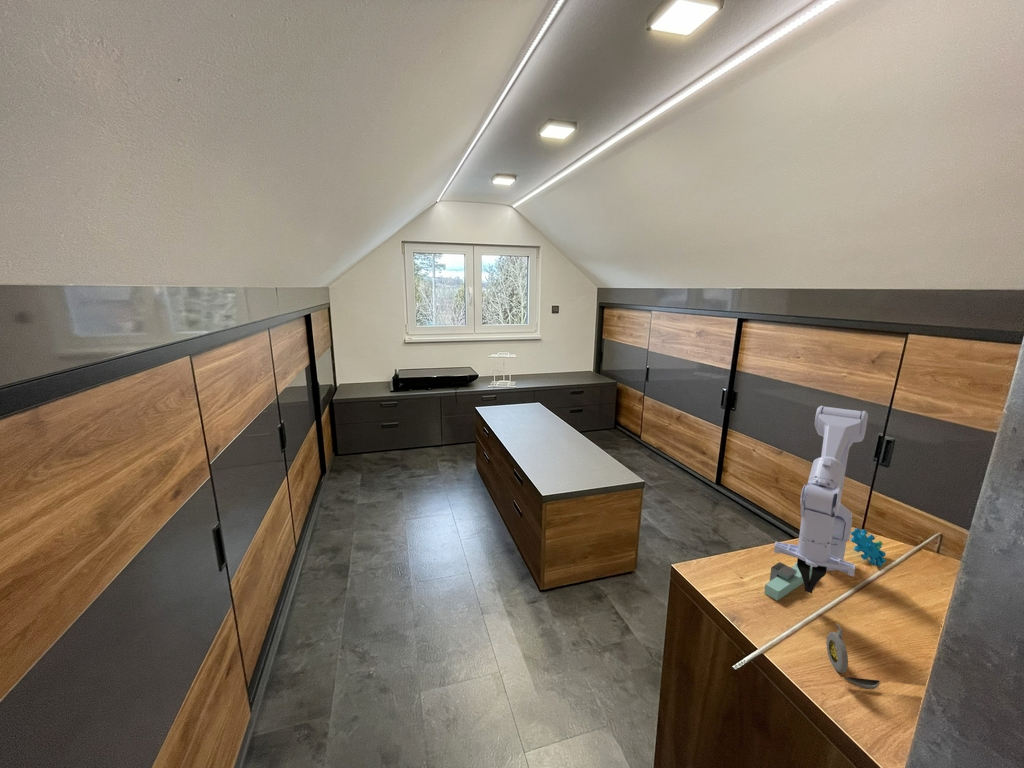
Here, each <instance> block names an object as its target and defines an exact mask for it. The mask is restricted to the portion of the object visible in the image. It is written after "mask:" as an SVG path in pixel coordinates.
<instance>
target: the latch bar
mask: <svg viewBox="0 0 1024 768" xmlns="http://www.w3.org/2000/svg"><path fill="white" fill-rule="evenodd" d="M812 567H813V566H810V574H809V581H810V578H811V574H812ZM791 568H793V569H795V570H797V574H796V575H794V576H793V577H792V578H790V579H789V580H787V579H785V578H783V577H781V576H777V577H776V578H774V579H773V580H771V581H770V580H769V581H767V582H766V583H765V584H764V585H765V586H764V595H766V596H767V597H769V598H771V599H773V600H775V601H780V600H781V599H782V598H784V597H785V596H787V595H788V594H790V593H791V592H792V591H794V590H795V589H797V588H799V587H800V586H801V585H804V582H803V578H802V575H801V573H800V571H799V569H798V567H797V561H796V562H795V563H794V565H793V566H792V567H791Z"/></svg>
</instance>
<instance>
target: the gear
mask: <svg viewBox="0 0 1024 768" xmlns="http://www.w3.org/2000/svg"><path fill="white" fill-rule="evenodd" d="M868 534H869V533H868V531H867V530H866V529H861V528H858V527H857V528H854V529H853V531H851V533H850V536H851V535H852V537H851V538H850V542H851V543H853V544H855V546H853V550H854V551H855V552H858V553H860V552H862V553H863V554H860V557H861V558H862V559H863V561H866V560H868V559H870V560H868V563H869V564H871V565H872V566H877V567H879V568H880V567H883V566H884V565H883V564H885V563H886V562H887V559H885V558H884V557H886V552H885V551H882V550H881V548H882V547H883V544H884V543H883V542H882V541H880V540H879V541H875V542H874V541H873V540H876V538H875V536H874V535H873V534H870V535H868ZM867 535H868V536H867Z"/></svg>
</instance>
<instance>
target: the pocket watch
mask: <svg viewBox="0 0 1024 768" xmlns="http://www.w3.org/2000/svg"><path fill="white" fill-rule="evenodd" d="M835 626H836V629H837V632H835V631H830V632H828V634H827V636H826V652H827V656H828V659H829V661H830V663H831V666H832V667H833V669H834V670H835V671H836V672H838V673H841V674H845V673H846V672H847V671H848V667H849V656H848V651H847V648H846V645H845V642H844V640H843V638H842V637H844V632H843V630H842V628H841V626H840V624H839V623H838V622H837V623H836V624H835ZM843 678H844V679H845V680H846V681H847V682H849V683H851V684H853V685H856V686H857V687H860V688H863V689H868V690H869V689H876V688H878V687H879V685H880V683H881V681H880V680H877V679H868V678H860V677H850V676H843Z"/></svg>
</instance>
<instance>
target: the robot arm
mask: <svg viewBox="0 0 1024 768" xmlns="http://www.w3.org/2000/svg"><path fill="white" fill-rule="evenodd" d="M868 419H869V413H868V412H867V411H866V410H854V409H845V408H839V407H838V408H837V407H831V406H830V407H829V406H824V405H820V406H818V407H817V408H816V413H815V417H814V427H815V431H816V433H817V435H818V436H821V437H823V438H822V439H823V441H822V446H821V455H820V457H817V458H815V459H814V460H813V462H812V465H811V468H810V472H809V476H808V480H807V483H806V484H807V485H806V484H804V485H803V486H802V489H801V493H800V500H799V501H800V516H801V519H800V528H799V535H798V543H797V544H798V545H797V544H792V543H785V542H780V541H775V543H774V546H773V547H774V548H773V553H775V554H783V555H786V556H790V557H793V558H796V559H797V560H796V562H797V567H798V569H799V571H800V573H801V575H802V578H803V582H804V583H803V587H804V592H807V593H810V594H813V591H814V589H815V587H816V585H817V584H818V582H819V581H820V580H821V579H823V578H824V577H825V576H826V574H827V571H831V572H832V571H839V572H842V573H846V574H847V575H848V576H850V577H852V578H853V577H854V576H855V571H856V564H855V563H851V562H849V561H846V560H845V552H846V547H847V542H849V541H850V539H851V538H850V536H851V532H852V526H853V513H852V511H851V510H849V508H848V507H846V506H845V505H844V504H843V503H842V495H843V489H844V485H845V484H844V483H845V476H846V470H847V463H848V458H849V457H848V456H849V451H850V448H851V447H852V446H853V443H860V442H863V440H864V439H865V434H866V431H867V426H868V425H867V424H868ZM810 566H812V574H811V578H810V580H809V574H810Z"/></svg>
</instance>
